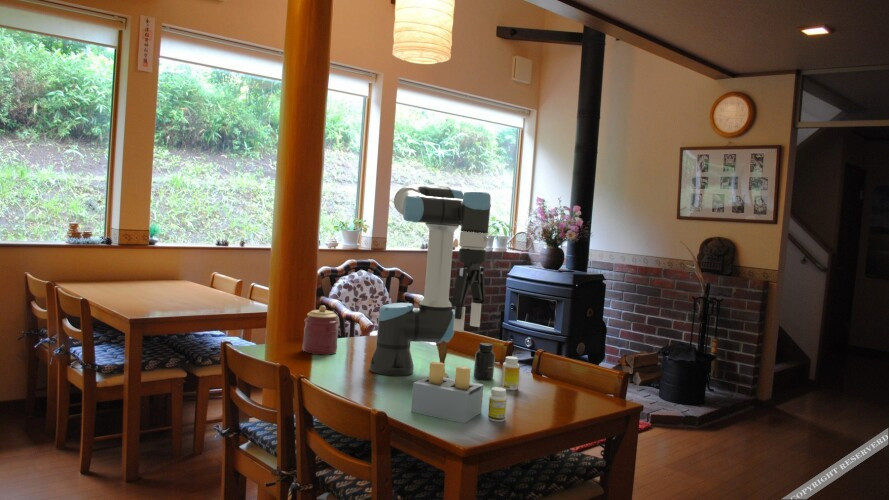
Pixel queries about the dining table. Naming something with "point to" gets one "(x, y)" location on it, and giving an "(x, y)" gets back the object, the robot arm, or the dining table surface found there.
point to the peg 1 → (436, 372)
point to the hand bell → (443, 355)
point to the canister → (320, 332)
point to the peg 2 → (462, 377)
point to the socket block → (447, 400)
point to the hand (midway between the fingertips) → (466, 328)
